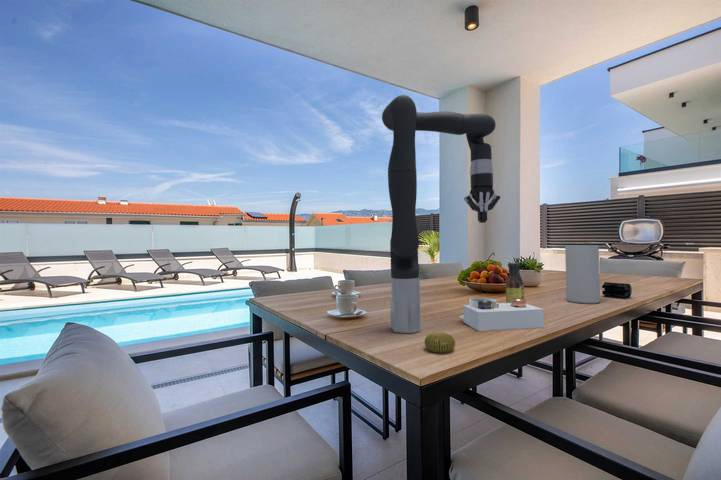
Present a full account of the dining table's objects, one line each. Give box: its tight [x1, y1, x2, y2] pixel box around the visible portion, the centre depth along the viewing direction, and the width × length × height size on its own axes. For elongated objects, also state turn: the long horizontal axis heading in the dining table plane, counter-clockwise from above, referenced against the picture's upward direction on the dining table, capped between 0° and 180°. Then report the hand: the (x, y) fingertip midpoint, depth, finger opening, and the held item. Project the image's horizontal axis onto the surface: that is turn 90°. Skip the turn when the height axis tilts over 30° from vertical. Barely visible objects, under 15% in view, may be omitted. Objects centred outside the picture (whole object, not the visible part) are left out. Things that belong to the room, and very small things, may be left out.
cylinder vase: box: [564, 244, 601, 305], centre depth 152 cm, size 12×12×25 cm
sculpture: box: [424, 332, 456, 354], centre depth 91 cm, size 8×4×8 cm
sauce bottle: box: [505, 262, 525, 303], centre depth 128 cm, size 7×6×20 cm
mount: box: [462, 302, 545, 332], centre depth 115 cm, size 22×12×6 cm, turn 96°
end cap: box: [601, 281, 633, 300], centre depth 160 cm, size 10×7×7 cm
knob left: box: [478, 301, 493, 309], centre depth 114 cm, size 5×5×8 cm
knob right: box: [511, 297, 527, 308], centre depth 116 cm, size 5×5×8 cm
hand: (482, 222), depth 121 cm, fingers closed
